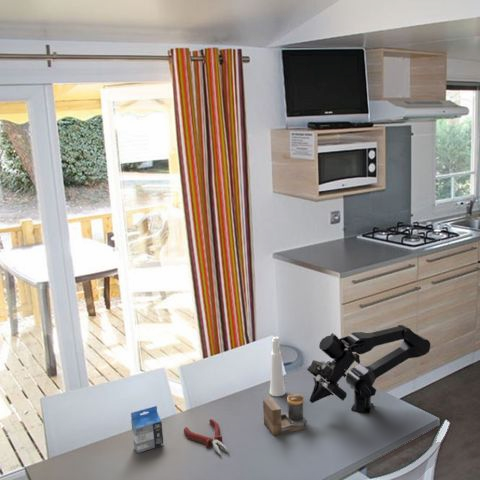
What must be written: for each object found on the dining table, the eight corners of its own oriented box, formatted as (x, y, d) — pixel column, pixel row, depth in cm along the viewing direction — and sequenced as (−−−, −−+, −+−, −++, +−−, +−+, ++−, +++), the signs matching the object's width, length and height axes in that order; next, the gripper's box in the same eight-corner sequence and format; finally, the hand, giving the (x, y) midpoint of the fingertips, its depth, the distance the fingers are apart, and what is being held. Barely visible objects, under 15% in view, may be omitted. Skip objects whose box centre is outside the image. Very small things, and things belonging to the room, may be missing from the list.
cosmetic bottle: (266, 392, 217) (264, 337, 213) (278, 387, 221) (276, 333, 216) (276, 398, 213) (274, 341, 208) (288, 393, 216) (287, 337, 211)
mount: (295, 416, 199) (294, 392, 197) (305, 428, 192) (304, 403, 190) (263, 424, 195) (263, 399, 193) (273, 436, 188) (272, 410, 186)
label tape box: (137, 453, 182) (134, 418, 179) (133, 447, 185) (130, 412, 182) (164, 445, 185) (161, 410, 183) (159, 439, 189) (156, 405, 186)
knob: (299, 414, 198) (298, 392, 196) (307, 422, 193) (306, 400, 191) (284, 417, 196) (284, 395, 195) (292, 426, 191) (291, 403, 189)
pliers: (209, 463, 175) (208, 456, 175) (182, 433, 193) (182, 426, 192) (242, 452, 181) (241, 444, 180) (213, 423, 198) (212, 416, 197)
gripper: (311, 342, 202) (283, 378, 201) (338, 363, 185) (307, 402, 184) (332, 360, 206) (304, 394, 205) (359, 381, 189) (329, 419, 188)
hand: (310, 401), depth 195 cm, fingers closed
